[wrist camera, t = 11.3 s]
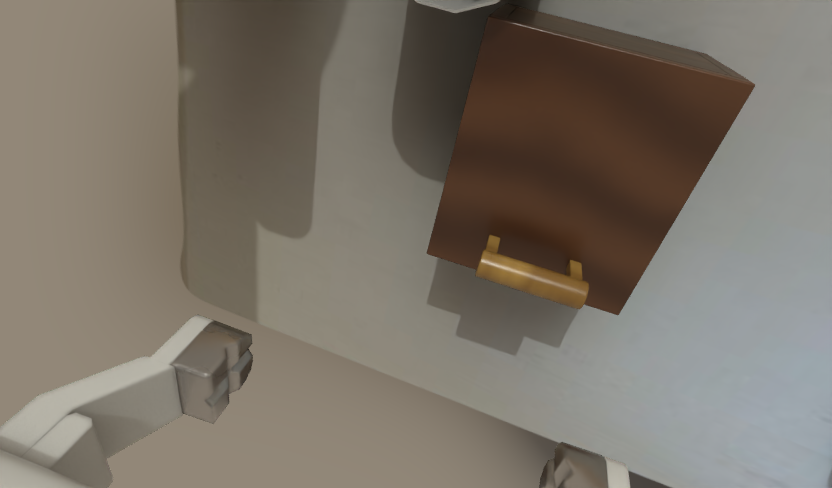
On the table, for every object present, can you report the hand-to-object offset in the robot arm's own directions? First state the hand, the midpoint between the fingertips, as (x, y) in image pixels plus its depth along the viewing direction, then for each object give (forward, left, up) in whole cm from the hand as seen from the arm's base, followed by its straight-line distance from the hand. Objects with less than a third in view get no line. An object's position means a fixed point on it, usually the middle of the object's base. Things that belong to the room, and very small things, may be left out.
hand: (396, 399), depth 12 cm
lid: (0, +4, -18) cm, 19 cm away
